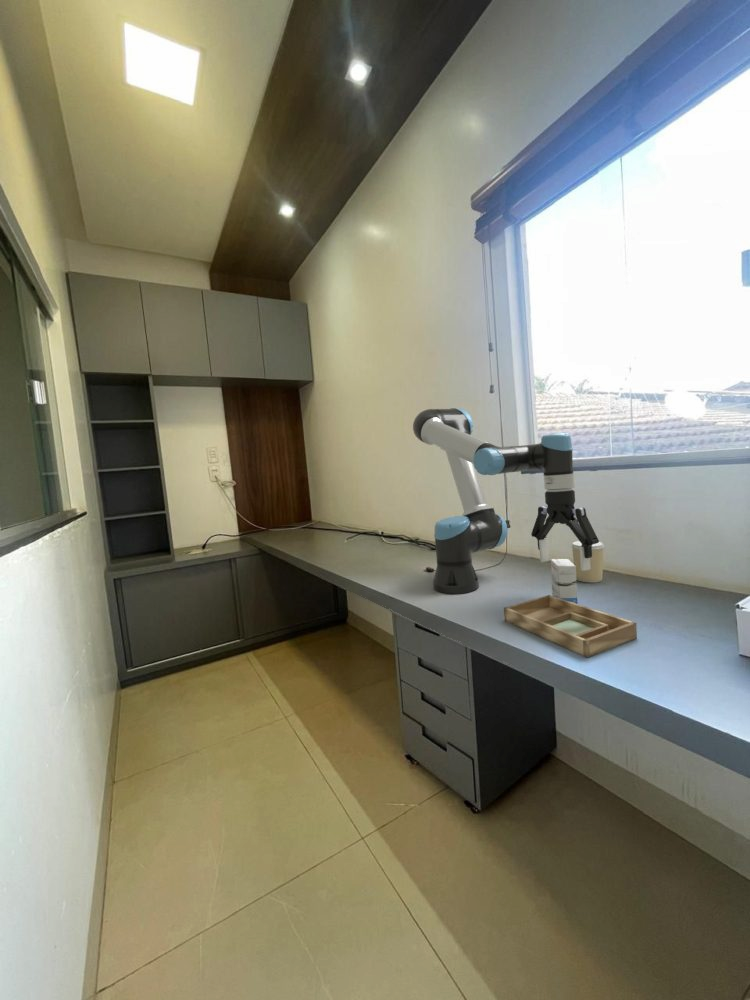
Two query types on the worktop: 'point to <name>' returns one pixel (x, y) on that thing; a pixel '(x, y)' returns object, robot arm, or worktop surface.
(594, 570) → the coffee cup
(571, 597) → the ink box
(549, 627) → the walled box
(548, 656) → the worktop surface
